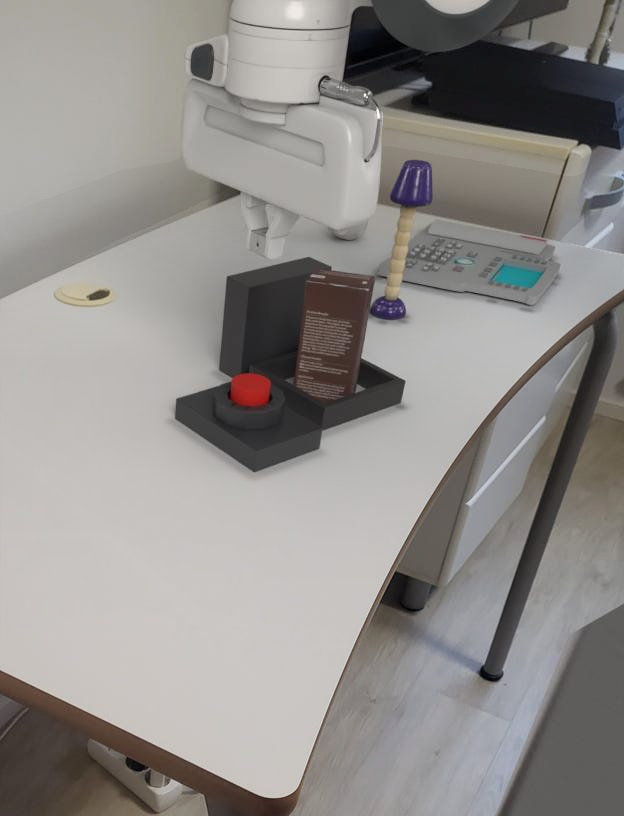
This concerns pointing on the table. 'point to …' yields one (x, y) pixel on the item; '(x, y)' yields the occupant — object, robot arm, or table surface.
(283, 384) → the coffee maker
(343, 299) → the box
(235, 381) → the power button
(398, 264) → the toy lamp
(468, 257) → the office telephone
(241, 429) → the block
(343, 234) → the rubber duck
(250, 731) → the table surface
